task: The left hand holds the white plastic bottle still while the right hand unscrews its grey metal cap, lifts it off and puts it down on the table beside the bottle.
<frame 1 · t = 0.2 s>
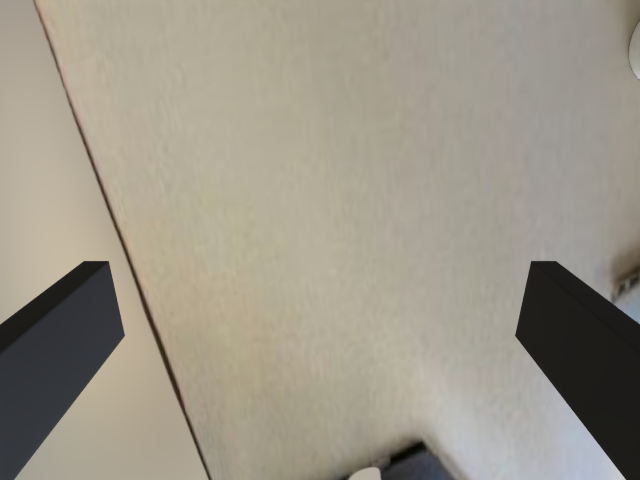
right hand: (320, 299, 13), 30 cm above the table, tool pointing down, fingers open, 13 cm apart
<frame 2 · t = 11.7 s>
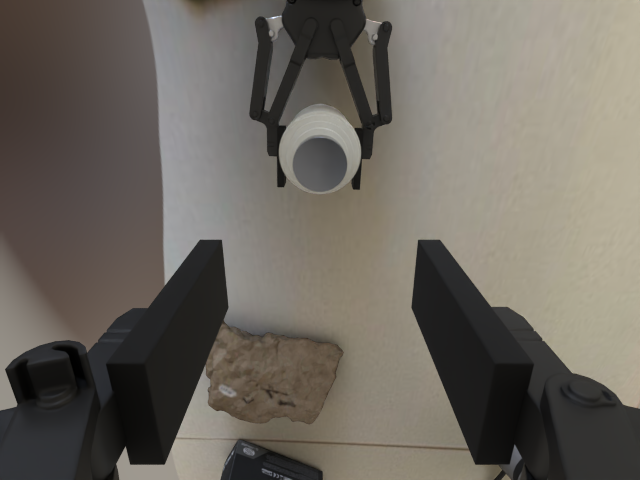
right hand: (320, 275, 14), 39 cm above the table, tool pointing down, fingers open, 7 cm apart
left hand: (318, 185, 46), fingers closed on bottle, 8 cm apart
stone: (271, 359, 63), on the table
bottle: (319, 136, 50), on the table, touching left hand
cap: (319, 164, 33), point 18 cm above the table, screwed on, not yet turned
graphics card box: (274, 462, 72), on the table
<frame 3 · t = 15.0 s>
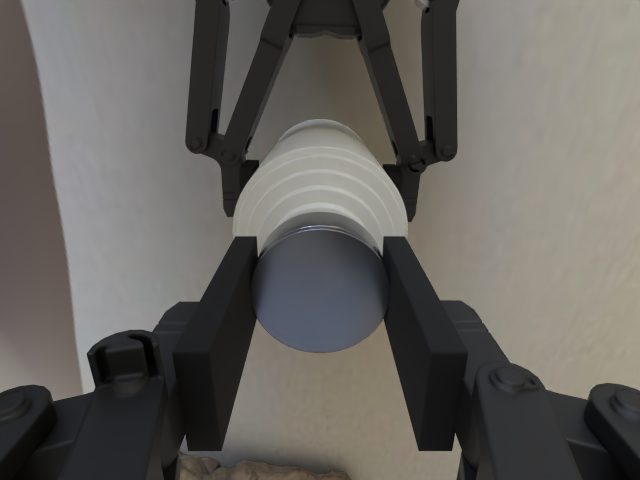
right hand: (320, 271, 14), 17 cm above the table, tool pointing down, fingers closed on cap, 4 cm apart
bottle: (320, 172, 30), on the table, touching left hand
cap: (320, 290, 13), point 18 cm above the table, screwed on, not yet turned, touching right hand
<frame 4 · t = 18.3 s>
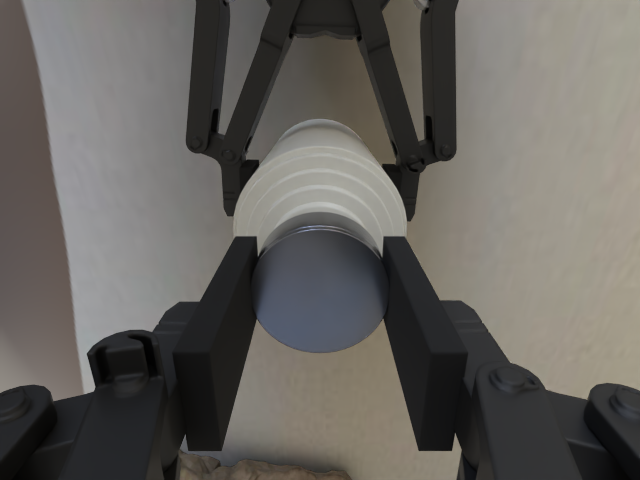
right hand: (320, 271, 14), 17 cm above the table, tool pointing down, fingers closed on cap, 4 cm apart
bottle: (320, 172, 30), on the table, touching left hand
cap: (319, 290, 13), point 19 cm above the table, turned 110° so far, risen 0.1 cm, still on its thread, touching right hand
when the right hand's fingers open (2 cm above the table, at t = 32.8 s): cap drops 2 cm, point 1 cm above the table.
when the left hand's fingers open (6 cm above the table, at t = 34.0 s): bottle stays where it is, on the table.
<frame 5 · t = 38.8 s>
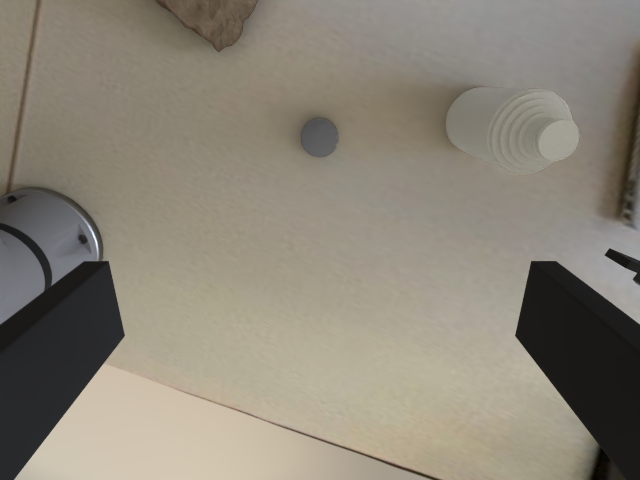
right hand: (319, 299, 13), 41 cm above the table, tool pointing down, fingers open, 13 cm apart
bottle: (476, 120, 50), on the table
cap: (319, 138, 49), point 1 cm above the table, off its thread
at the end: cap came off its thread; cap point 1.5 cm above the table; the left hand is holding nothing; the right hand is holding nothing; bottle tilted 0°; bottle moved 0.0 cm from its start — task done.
